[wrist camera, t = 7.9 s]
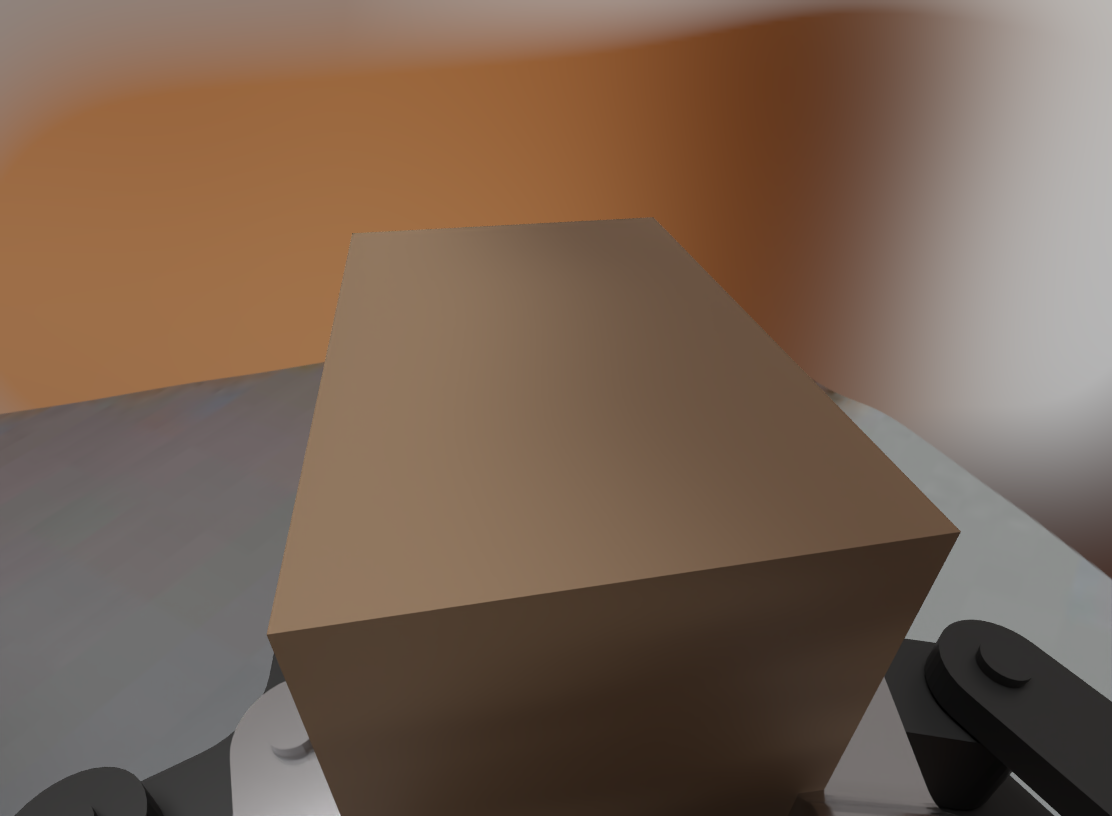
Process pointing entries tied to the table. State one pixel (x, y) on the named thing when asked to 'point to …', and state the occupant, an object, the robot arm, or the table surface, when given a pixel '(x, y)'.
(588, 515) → the tall wooden pillar
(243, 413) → the table surface
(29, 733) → the table surface
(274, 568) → the table surface
